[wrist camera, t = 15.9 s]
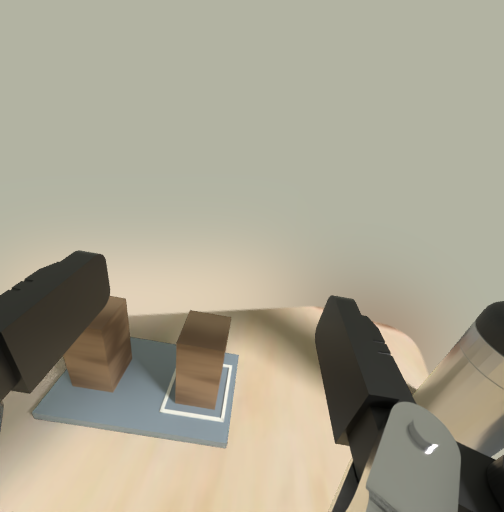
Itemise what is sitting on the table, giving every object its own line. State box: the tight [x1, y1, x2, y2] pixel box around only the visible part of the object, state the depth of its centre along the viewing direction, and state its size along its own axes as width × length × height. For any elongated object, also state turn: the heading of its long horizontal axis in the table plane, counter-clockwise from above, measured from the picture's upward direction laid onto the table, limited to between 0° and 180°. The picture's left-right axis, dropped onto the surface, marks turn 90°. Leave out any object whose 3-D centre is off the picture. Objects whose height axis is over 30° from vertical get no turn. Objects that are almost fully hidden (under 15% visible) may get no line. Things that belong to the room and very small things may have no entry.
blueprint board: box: [32, 337, 239, 448], centre depth 34 cm, size 12×22×1 cm, turn 86°
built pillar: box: [63, 296, 132, 393], centre depth 30 cm, size 5×5×11 cm
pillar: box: [175, 310, 231, 410], centre depth 31 cm, size 5×5×11 cm
